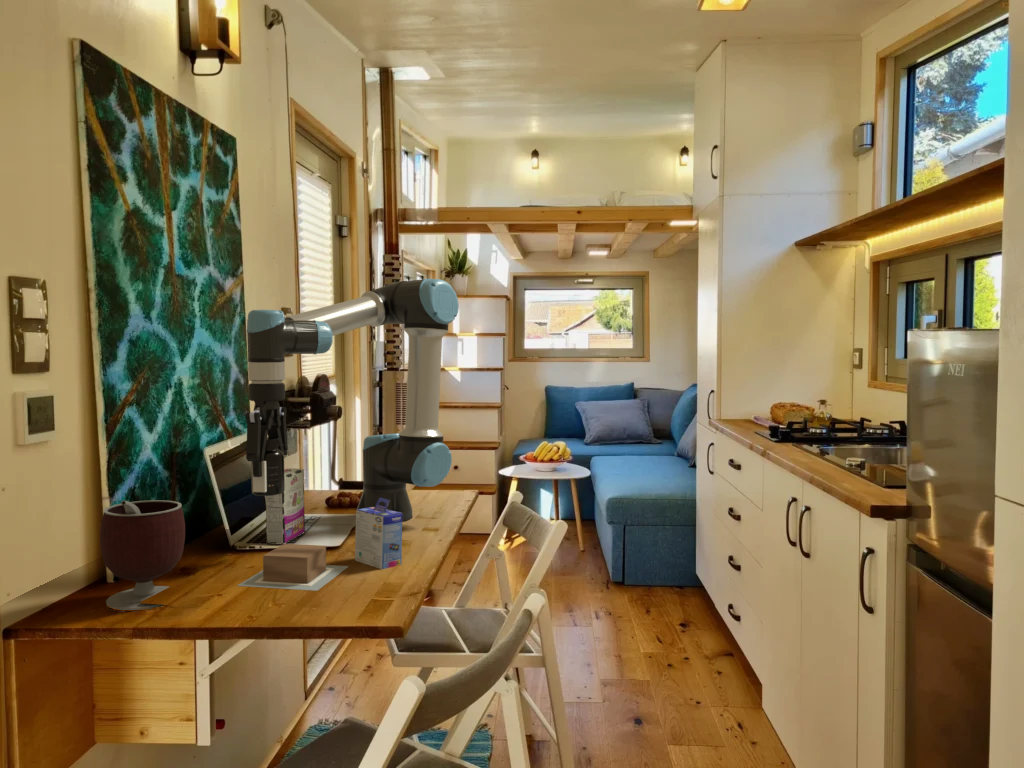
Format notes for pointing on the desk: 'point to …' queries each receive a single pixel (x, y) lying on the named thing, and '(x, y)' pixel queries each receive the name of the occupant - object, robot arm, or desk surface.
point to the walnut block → (294, 563)
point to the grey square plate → (312, 585)
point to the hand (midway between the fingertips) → (268, 488)
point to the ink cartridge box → (378, 536)
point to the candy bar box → (286, 509)
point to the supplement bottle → (272, 468)
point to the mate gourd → (141, 547)
